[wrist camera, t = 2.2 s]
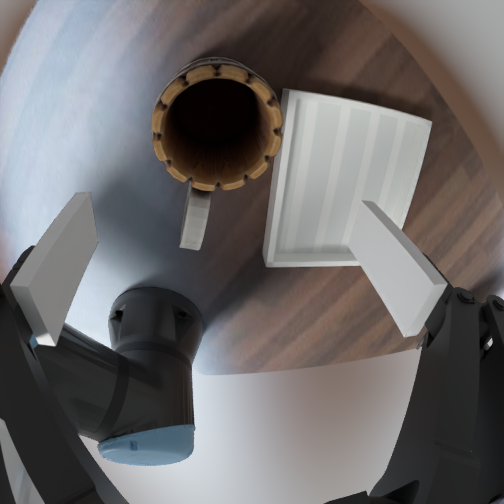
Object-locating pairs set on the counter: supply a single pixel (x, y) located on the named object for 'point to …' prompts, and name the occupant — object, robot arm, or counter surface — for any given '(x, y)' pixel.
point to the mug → (214, 133)
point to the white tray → (337, 175)
